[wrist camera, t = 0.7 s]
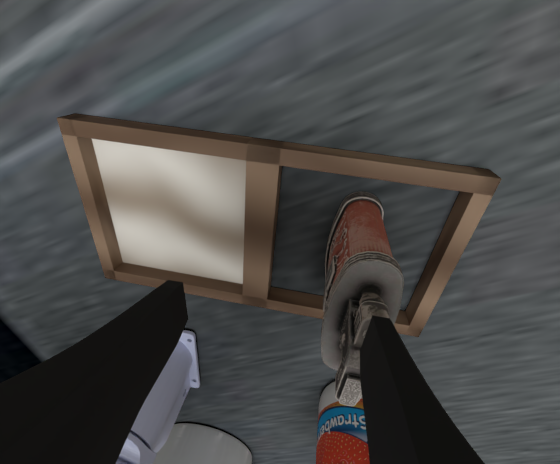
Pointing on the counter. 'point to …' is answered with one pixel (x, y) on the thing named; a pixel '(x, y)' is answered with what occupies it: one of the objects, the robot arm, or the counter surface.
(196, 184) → the tray
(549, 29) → the counter surface
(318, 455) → the fruit juice
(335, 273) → the lighter
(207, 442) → the utensil holder
